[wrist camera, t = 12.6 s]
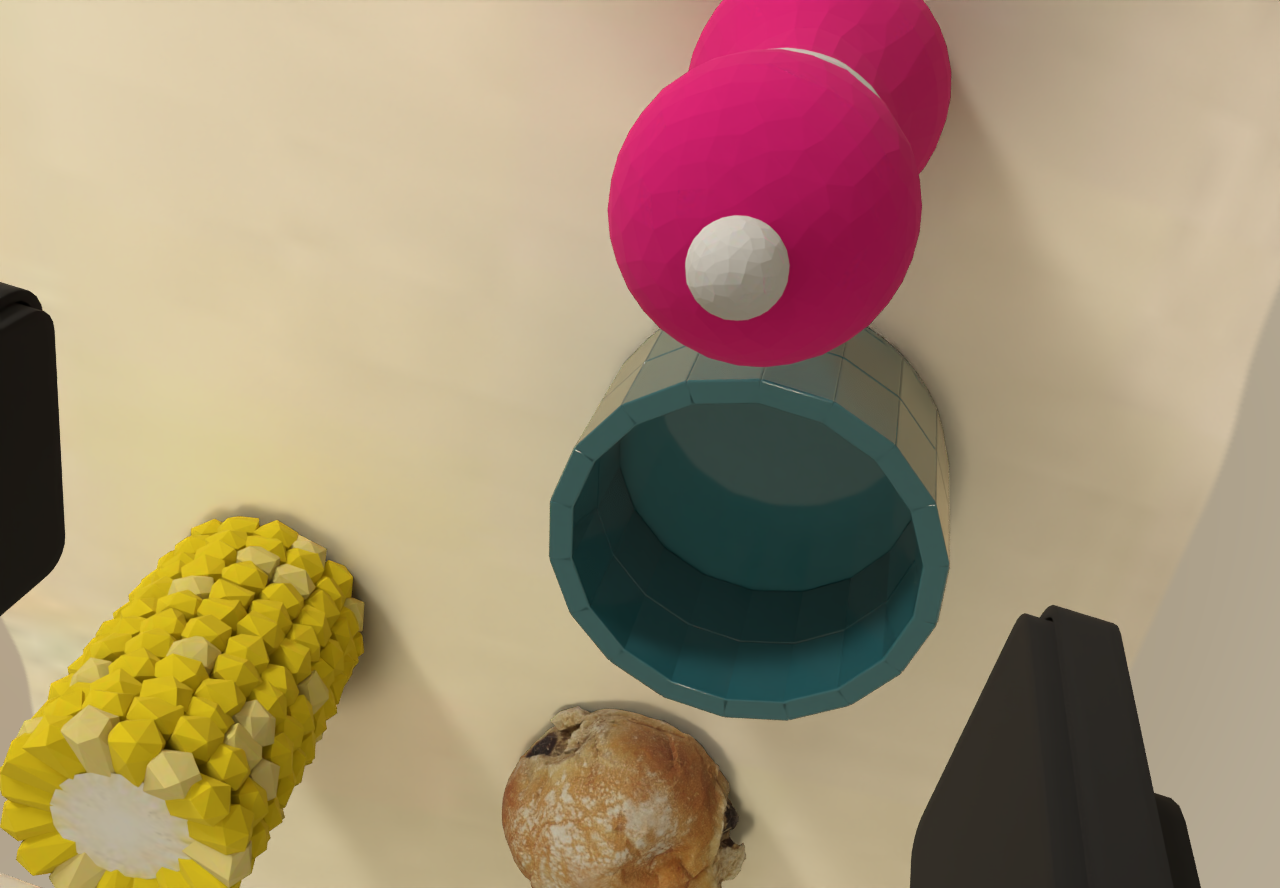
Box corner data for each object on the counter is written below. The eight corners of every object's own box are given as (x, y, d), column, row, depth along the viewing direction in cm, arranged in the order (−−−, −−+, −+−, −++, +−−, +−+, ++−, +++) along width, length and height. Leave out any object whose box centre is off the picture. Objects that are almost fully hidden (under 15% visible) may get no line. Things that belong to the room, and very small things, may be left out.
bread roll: (665, 635, 53) (560, 692, 46) (810, 830, 50) (721, 921, 43) (539, 747, 57) (427, 813, 51) (666, 930, 55) (566, 1025, 48)
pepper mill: (667, 51, 37) (433, 250, 20) (850, -118, 34) (756, -52, 17) (811, 225, 39) (707, 547, 22) (999, 79, 36) (1052, 324, 18)
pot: (641, 251, 41) (588, 326, 35) (1002, 359, 40) (1013, 457, 34) (571, 542, 47) (517, 648, 41) (882, 643, 46) (873, 767, 40)
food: (203, 466, 51) (421, 546, 51) (148, 692, 55) (352, 766, 55) (-20, 610, 37) (283, 721, 37) (-75, 905, 40) (202, 1007, 40)
